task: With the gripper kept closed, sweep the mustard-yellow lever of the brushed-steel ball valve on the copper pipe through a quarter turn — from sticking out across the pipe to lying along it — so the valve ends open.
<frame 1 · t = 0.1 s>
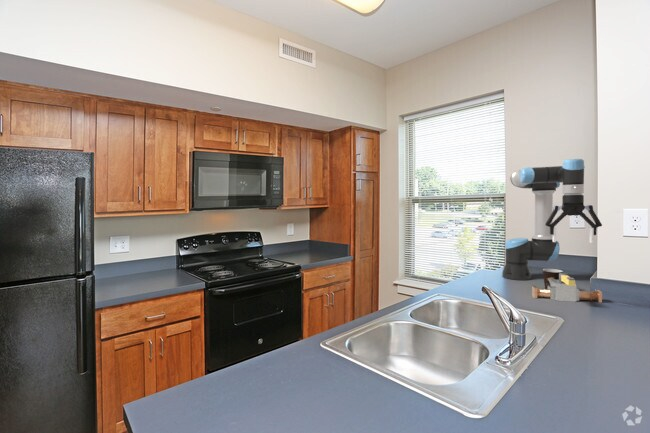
hand: (572, 242, 147), 28 cm above the countertop, fingers open, 13 cm apart
lever: (566, 279, 151), point 10 cm above the countertop, hinge at 0.0°
valve body: (562, 298, 157), on the countertop
coffee mug: (555, 290, 170), on the countertop
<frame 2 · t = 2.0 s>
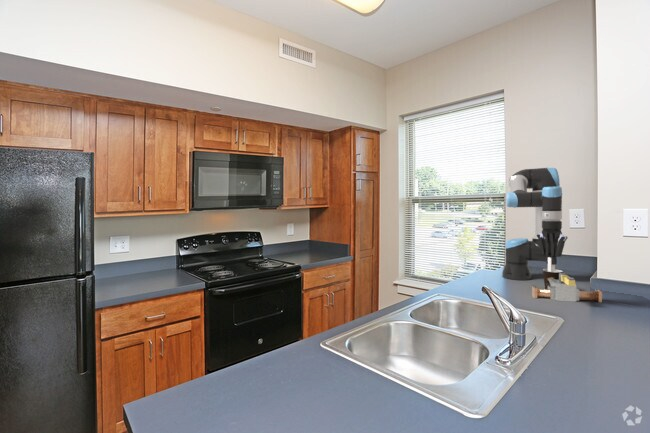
hand: (551, 271, 153), 14 cm above the countertop, fingers closed
nothing on the countertop moved.
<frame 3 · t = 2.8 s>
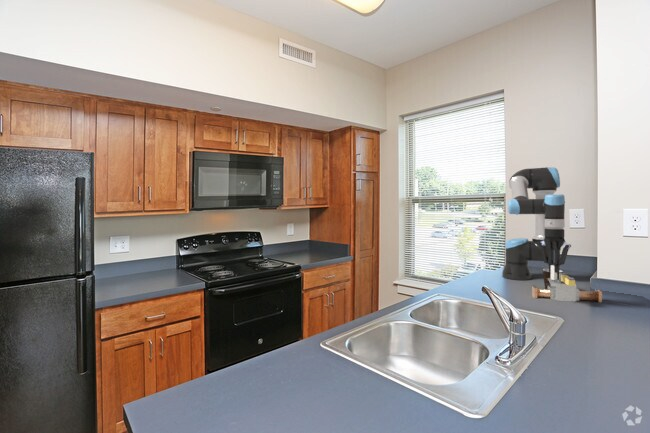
hand: (553, 279, 152), 10 cm above the countertop, fingers closed
nothing on the countertop moved.
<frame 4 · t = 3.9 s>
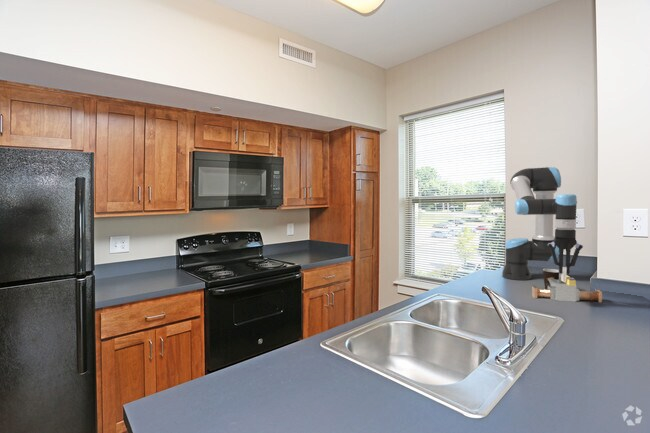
hand: (563, 280, 149), 10 cm above the countertop, fingers closed
lever: (566, 279, 151), point 10 cm above the countertop, hinge at 0.8°, touching gripper
everything else where it was.
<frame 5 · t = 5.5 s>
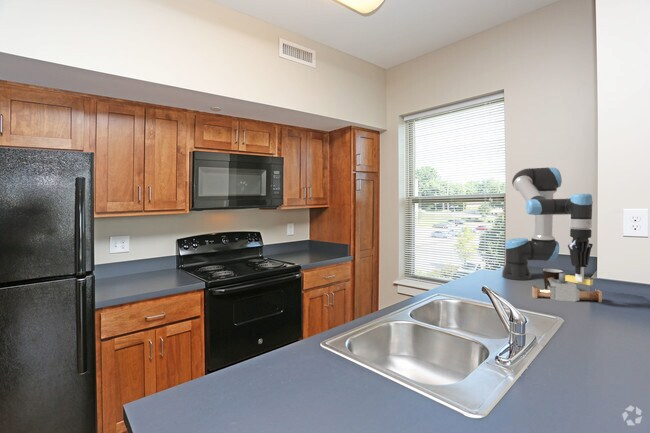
hand: (579, 281, 148), 10 cm above the countertop, fingers closed
lever: (574, 279, 152), point 10 cm above the countertop, hinge at 46.3°, touching gripper
everything else where it was.
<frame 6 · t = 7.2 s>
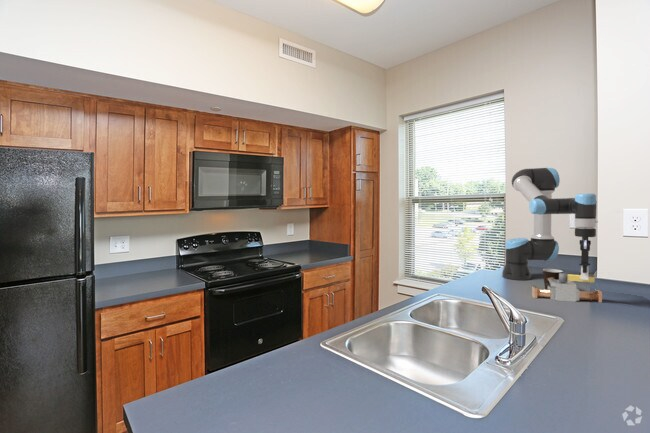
hand: (584, 279, 151), 10 cm above the countertop, fingers closed
lever: (576, 278, 154), point 10 cm above the countertop, hinge at 84.0°
everything else where it was.
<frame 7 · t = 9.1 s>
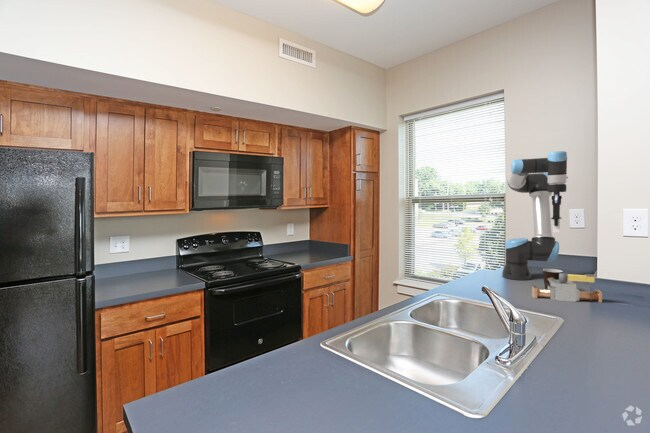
hand: (556, 232, 162), 31 cm above the countertop, fingers closed
nothing on the countertop moved.
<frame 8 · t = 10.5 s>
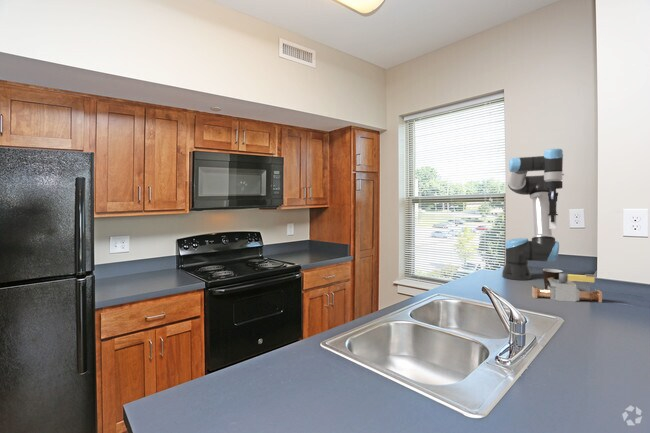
hand: (552, 228, 164), 32 cm above the countertop, fingers closed
nothing on the countertop moved.
at the end: lever at +84° (first picture: +0°); coffee mug moved 0.2 cm from its start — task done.
